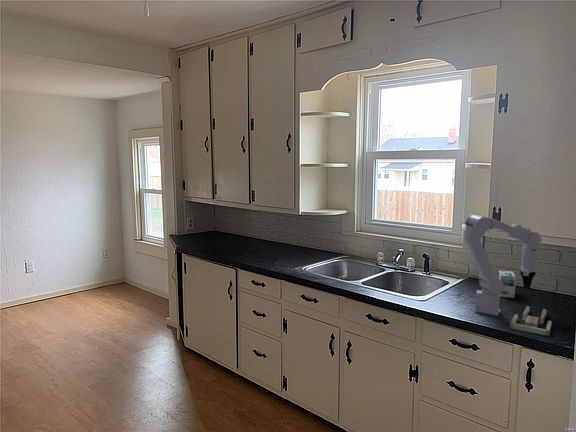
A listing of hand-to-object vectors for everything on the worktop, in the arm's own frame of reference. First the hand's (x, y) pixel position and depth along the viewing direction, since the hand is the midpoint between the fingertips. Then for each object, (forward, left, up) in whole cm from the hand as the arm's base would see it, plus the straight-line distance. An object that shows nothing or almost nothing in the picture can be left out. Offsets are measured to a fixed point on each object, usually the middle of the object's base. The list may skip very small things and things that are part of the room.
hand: (526, 287), depth 190 cm
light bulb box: (-11, +19, -11) cm, 24 cm away
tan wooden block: (+4, -20, -10) cm, 23 cm away
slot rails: (+4, -7, -10) cm, 13 cm away
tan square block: (+4, -16, -10) cm, 20 cm away
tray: (+4, -19, -10) cm, 22 cm away
